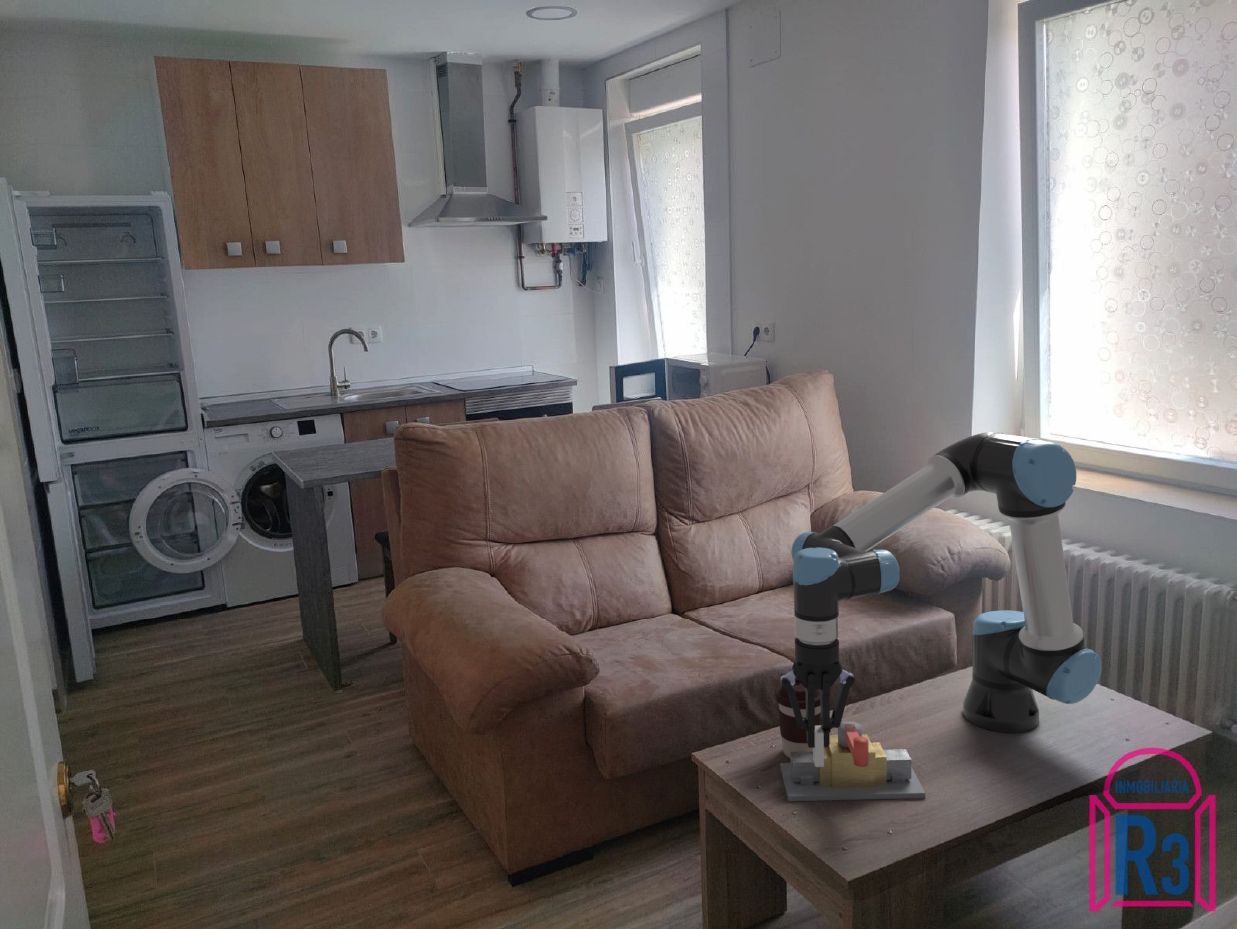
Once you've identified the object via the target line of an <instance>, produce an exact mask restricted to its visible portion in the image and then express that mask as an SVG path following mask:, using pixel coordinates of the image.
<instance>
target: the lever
mask: <svg viewBox="0 0 1237 929" xmlns="http://www.w3.org/2000/svg"><path fill="white" fill-rule="evenodd" d="M862 734H863V726H862V725H861V723H858V722H855V721H852V720H851V721H849V720H844V721H841V724H840V727H839V728H837V735H838V743H839V744H840V745H841V746H843V747H847V748H849V749H850V751H851V754H852V756H853V759H854V765H856V766H858V767H866V766H868V765H869V740H868V739H867V738H865V737H862Z"/></svg>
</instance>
